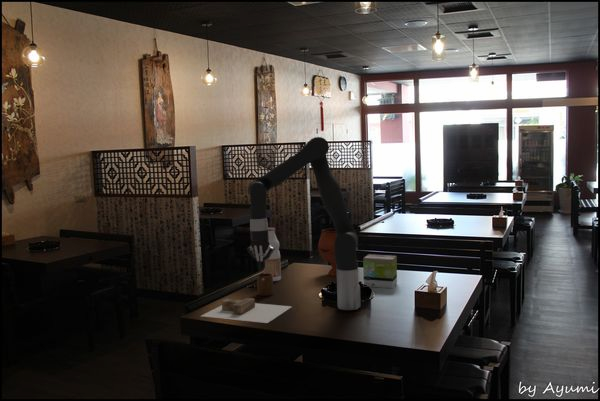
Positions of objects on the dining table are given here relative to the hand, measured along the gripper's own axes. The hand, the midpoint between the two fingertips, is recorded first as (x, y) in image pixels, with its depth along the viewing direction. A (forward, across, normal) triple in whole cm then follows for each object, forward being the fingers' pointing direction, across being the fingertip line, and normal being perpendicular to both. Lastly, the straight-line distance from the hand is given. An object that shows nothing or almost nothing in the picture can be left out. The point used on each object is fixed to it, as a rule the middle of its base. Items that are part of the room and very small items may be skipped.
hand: (261, 269), depth 228 cm
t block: (+19, +14, -1) cm, 23 cm away
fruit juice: (+19, +24, -56) cm, 64 cm away
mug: (+19, +13, -26) cm, 35 cm away
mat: (+19, +8, 0) cm, 21 cm away
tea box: (+20, -35, -59) cm, 71 cm away
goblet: (+19, -5, -77) cm, 80 cm away
